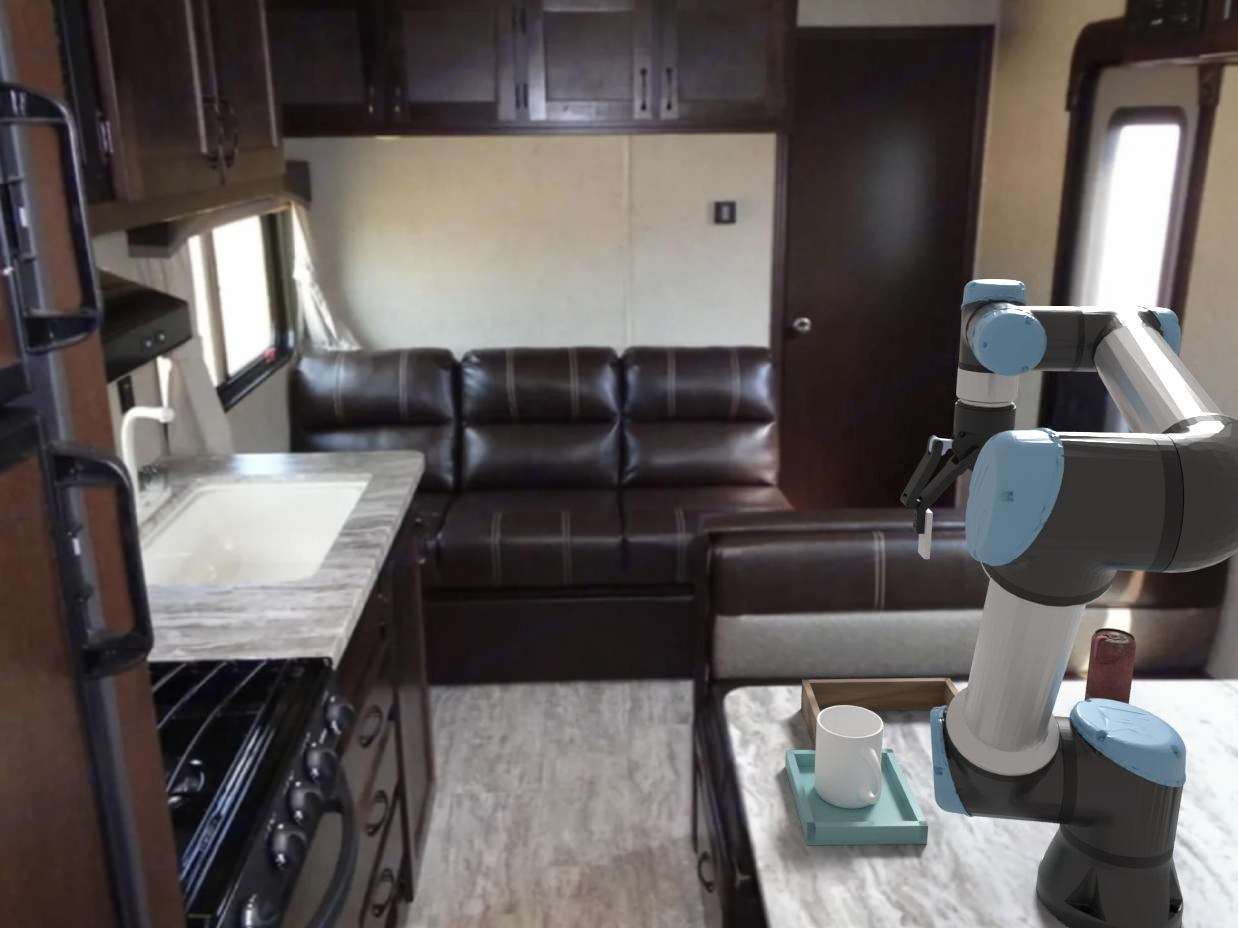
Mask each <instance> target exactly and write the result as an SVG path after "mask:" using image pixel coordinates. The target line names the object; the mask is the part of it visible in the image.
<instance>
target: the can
mask: <svg viewBox="0 0 1238 928" xmlns="http://www.w3.org/2000/svg"><path fill="white" fill-rule="evenodd" d="M1136 651H1137V642H1136V638H1135V636H1134V635H1133V634H1131V633H1130V632H1128V631H1125V630H1123V629H1122V630H1121V629H1118V628H1110V627H1105V628H1104V627H1103V628H1099V629H1096V630H1095V631H1094V633H1093V634H1092V636H1091V640H1090V648H1089V657H1088V667H1087V675H1086V684H1085V693H1084V700H1083V701H1086V700H1087V699H1094V698H1099V699H1108V700H1114V701H1119V702H1123V703H1127V704H1130V699H1131V689H1132V681H1133V675H1134V674H1133V673H1134V668H1135V667H1134V666H1135V659H1136V653H1137V652H1136Z"/></svg>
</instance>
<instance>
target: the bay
mask: <svg viewBox="0 0 1238 928" xmlns="http://www.w3.org/2000/svg"><path fill="white" fill-rule="evenodd" d="M959 692H960V691H959V690H958V689H957V687H956V685H955V683H954V682H953V680H952V679H951V678H950V677H918V678H917V677H914V678H912V677H911V678H909V677H908V678H905V677H903V678H840V679H839V678H838V679H837V678H836V679H835V678H834V679H832V678H830V679H802V680H801V696H800V697H801V700H800V702H801V705H800V710H801V713H802V716H803V719H804V721H805V725H806V728H807V730H808V733H809V736H810V739H811V743H812V746H813V748H814V750H816V726H817V716H818V714H819V713H820V712H821V711H822V710H824V709H826V708H829V707H833V706H840V705H849V706H856V707H861V708H864V709H867V710H870V711H872V712H881V711H883V712H886V711H890V712H891V711H892V712H895V711H931V709H933V708H934V707H942V706H944V705H946V706H949V705H950V702H951V701H952V699H953V698H954V697H955V696H956V694H957V693H959Z"/></svg>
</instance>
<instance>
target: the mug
mask: <svg viewBox="0 0 1238 928" xmlns="http://www.w3.org/2000/svg"><path fill="white" fill-rule="evenodd" d="M883 737H884V721H883V720H882V718H881V717H880V716H879V714H877V713H875V711H870V710H867V709H864V708H861V707H856V706H849V705H840V706H833V707H829V708H826V709H824V710H822V711H821V712H820V713H819V714H818V716H817V726H816V752H815V780H814V781H815V789H816V792H817V793H818V795H819V796H820V797H821V798H822V799H823V800H824V801H826V802H827V803H829V804H831V805H834V806H837V807H841V808H847V809H857V808H863V807H866V806H868V805H870V804H871V805H872V804H875V803H877V802H878V801H879V799H880V796H881V790H882V773H881V758H882V749H883V739H884V738H883Z"/></svg>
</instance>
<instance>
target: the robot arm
mask: <svg viewBox="0 0 1238 928" xmlns="http://www.w3.org/2000/svg"><path fill="white" fill-rule="evenodd" d="M961 303H962V304H961V305H960V311H961V321H960V322H961V323H960V325H961V326H960V338H959V339H960V340H959V355H958V356H959V358H958V359H959V360H958V365H957V366H958V367H957V377H956V394H955V395H956V397H957V398H958V400H957V401H956V402H955V405H954V416H953V433H952V436H951V437H950V438H949V439H948V438H941V437H940V438H939V437H937V436H936V435H931V436H929V437H928V440H927V445H926V451H925V453H924V455H923V456H922V457H921V458H922V459H921V460H920V462H919V463H918V465H917V467H916V469H915V471H914V472H913V474H912V476H911V477H910V479H909V481H908V483H907V485H906V487H905V488H904V490H903V492H902V494H901V496H900V498H899V500H900V502H901V503H902V504H903V505H904V506H905V507H906V508H907V509H913V518H912V529H913V531H914V533H916V535H918V547H917V553H918V554H919V555H920V556H921V558H922V559H923V560H930V559H931V547H932V546H931V545H932V532H933V531H932V530H933V518H934V517H933V516H934V513H933V512H932V510H930V507H931V506H932V505H933V504H934V503H935V502H936V501H937V500H938V498H940V497H941V496H942V494H943V493H945V491H946V490H947V489H948V488H949V487H951V485H952V483H954V481H955V480H956V479H957V478H958V477H960V476H963V474H964V473H965V472H966V471H970V472H971V473H972V474H971V477H970V483H969V487H968V491H969V494H968V495H969V496H968V499H967V501H966V502H967V503H966V507H965V520H964V521H965V524H964V525H965V527H964V528H965V530H964V531H965V541H966V547H967V550H968V552H969V555H970V556H971V558H973V559H974V561H975V560H976V561H977V562H980V564H981V567H982V569H983V571H984V573H985V574H986V576H987V577H988V578H989V583H988V587H987V592H986V597H985V601H984V605H983V610H982V615H981V621H980V624H979V630H978V633H977V634H978V635H977V639H976V644H975V647H974V648H975V649H974V653H973V657H972V662H971V668H970V673H969V678H968V682H967V685H966V687H964V688H963V689H961V690H960V691H959V693H957V694H956V696H955V697H954V698H953V699H952V701H951V702H950V705H949V706H946V705H944V706H942V707H934V708H933V709H931V710H929V724H930V740H931V743H930V744H931V756H932V759H931V760H932V771H933V773H932V774H933V790H934V792H933V793H934V799H935V803H936V805H937V806H938V808H940V809H941V810H942V811H944V812H947V813H952V814H960V815H965V816H966V817H969V818H974V817H981V818H988V819H989V818H991V819H1002V820H1003V819H1004V820H1013V821H1014V820H1015V821H1023V822H1024V821H1025V822H1036V823H1046V824H1048V823H1049V824H1059V826H1058V828H1057V831H1056V833H1055V834H1054V836H1053V838H1052V840H1051V842H1049V845H1048V846H1047V849H1046V851H1045V852H1044V854H1043V856H1042V857H1041V859H1040V860H1039V865H1038V867H1037V874H1036V875H1037V876H1036V892H1037V895H1038V897H1039V900H1040V901H1041V903H1042V904H1043V905H1044V907H1045V908H1046V910H1048V912H1049V913H1050V914H1052V916H1054V917H1055V918H1056V919H1057V920H1058V921H1060V922H1061V923H1062V924H1064V925H1066V926H1067V927H1069V928H1181V926H1182V921H1183V913H1184V907H1185V906H1184V897H1183V894H1182V889H1181V885H1180V881H1179V877H1178V873H1177V868H1176V866H1175V865H1176V864H1175V860H1174V856H1173V855H1174V848H1175V842H1176V835H1177V829H1178V823H1179V816H1180V809H1181V802H1182V797H1183V790H1184V786H1185V783H1186V782H1187V774H1186V773H1187V772H1186V764H1187V763H1186V762H1187V749H1186V744H1185V742H1184V740H1183V738H1182V737H1181V736H1180V734H1179V732H1178V731H1177V730H1176V729H1175V728H1174V727H1173V726H1172V725H1171V724H1169V723H1168V722H1167V721H1165V720H1164V719H1162V718H1161V717H1159V716H1157V715H1156V714H1153V713H1152V712H1150V711H1147V710H1145V709H1144V708H1140V707H1138V706H1136V705H1134V704H1133V705H1132V704H1130V703H1129V704H1127V703H1123V702H1119V701H1114V700H1108V699H1099V698H1094V699H1087V700H1086V701H1084V700H1080V701H1077V702H1076V703H1075V704H1074V706H1072V708H1071V710H1070V713H1069V716H1060V715H1059V716H1058V715H1054V714H1053V711H1054V708H1055V705H1056V701H1057V698H1058V695H1059V692H1060V689H1061V686H1062V682H1063V680H1064V676H1065V673H1066V671H1067V667H1068V664H1069V661H1070V658H1071V654H1072V652H1073V648H1074V644H1075V641H1076V638H1077V635H1078V631H1079V628H1080V625H1081V623H1082V620H1083V618H1084V617H1083V615H1084V612H1085V610H1086V606H1087V605H1090V604H1091V603H1093V602H1097V600H1099V599H1101V598H1102V597H1103V596H1104V595H1105V594H1106V593H1107V592H1108V591H1109V589H1110V588H1111V587H1112V585H1113V583H1114V580H1115V579H1116V574H1117V571H1131V572H1132V571H1133V572H1148V573H1149V572H1151V573H1152V572H1153V573H1170V574H1172V573H1187V572H1192V571H1197V570H1202V569H1205V568H1208V567H1212V566H1214V565H1215V566H1216V565H1217V564H1219V563H1222V562H1223V561H1225V560H1227V559H1229V558H1230V557H1231V556H1233V555H1235V554H1237V553H1238V418H1236V417H1234V416H1230V415H1228V414H1227V415H1226V414H1223V412H1222V411H1221V409H1220V408H1219V407H1218V405H1216V404H1215V402H1214V401H1213V399H1212V398H1211V397H1210V395H1208V393H1207V392H1206V391H1205V389H1204V388H1203V386H1201V384H1200V383H1199V382H1198V381H1197V379H1196V378H1195V377H1194V376H1193V374H1192V373H1191V372H1190V370H1189V369H1188V368H1187V367H1186V365H1185V364H1184V362H1182V360H1181V359H1180V357H1179V353H1180V349H1181V337H1182V335H1181V326H1180V325H1179V318H1178V316H1177V315H1176V313H1175V312H1174V311H1173V310H1172V309H1169V308H1165V307H1155V306H1153V307H1151V306H1148V305H1147V306H1146V305H1134V306H1047V305H1045V306H1044V305H1041V306H1039V305H1036V306H1034V305H1033V306H1032V305H1030V306H1028V303H1027V287H1026V285H1025V283H1023V282H1022V281H1018V280H1015V279H1014V280H1013V279H997V278H994V279H992V278H991V279H990V278H987V279H984V278H983V279H973V280H971V281H969V282H968V283H966V285H965V286H964V288H963V299H962V302H961ZM1029 371H1031V372H1032V371H1033V372H1035V371H1036V372H1038V371H1040V372H1041V371H1042V372H1044V371H1045V372H1081V373H1082V372H1085V373H1086V372H1088V373H1089V372H1092V373H1093V372H1094V373H1097V374H1098V376H1099V377H1100V379H1101V380H1102V383H1103V384H1104V386H1105V388H1106V389H1107V391H1108V393H1109V395H1110V396H1111V399H1112V400H1113V402H1114V404H1115V406H1116V407H1117V409H1118V411H1119V412H1120V415H1121V416H1122V418H1123V420H1124V422H1125V423H1126V425H1127V427H1128V429H1129V430H1130V432H1095V431H1093V432H1085V431H1084V432H1083V431H1081V432H1080V431H1079V432H1077V431H1055V430H1053V429H1051V428H1046V427H1037V428H1033V429H1029V430H1028V429H1027V430H1026V429H1023V430H1015V427H1016V415H1017V405H1016V404H1015V403H1014V401H1016V400H1017V399H1018V394H1019V393H1018V392H1019V379H1020V376H1022V374H1026V373H1028V372H1029ZM949 449H950V450H951V451H952V453H953V455H952V456H951V457H950V458H949V459H948V460H947V461H946V463H945V466H944V467H943V468H942V469H941V470H940V471H939V472H938V473H937V475H936V476H934V477H933V479H932V480H931V481H930V482H929V483H928V481H929V480H930V478H931V477H932V475H933V473H934V471H935V470H936V468H937V466H938V464H939V463H940V460H941V457H942V456H944V455H945V454H946V452H947V451H948V450H949Z"/></svg>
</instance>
